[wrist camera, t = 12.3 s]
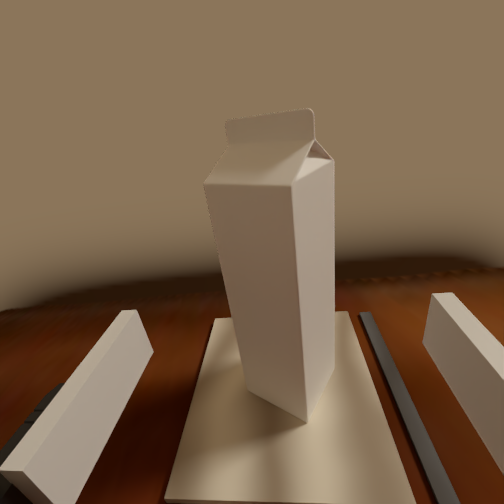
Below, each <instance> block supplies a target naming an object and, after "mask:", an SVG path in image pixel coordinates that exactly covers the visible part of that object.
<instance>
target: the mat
mask: <svg viewBox="0 0 504 504" xmlns="http://www.w3.org/2000/svg"><path fill="white" fill-rule="evenodd" d="M359 315H360V317H361V319H362V322H363V324H364V327H365V329H366V332H367V334H368V336H369V339H370V341H371V344H372V346H373V349H374V351H375V353H376V356H377V358H378V361H379V363H380V366H381V368H382V370H383V373H384V375H385V378H386V380H387V383H388V385H389V387H390V390H391V392H392V395H393V397H394V400H395V402H396V404H397V407H398V409H399V412H400V414H401V417H402V419H403V421H404V424H405V426H406V429H407V431H408V434H409V436H410V439H411V441H412V443H413V446H414V448H415V451H416V453H417V456H418V458H419V460H420V463H421V465H422V468H423V470H424V473H425V475H426V477H427V480H428V482H429V485H430V487H431V490H432V492H433V494H434V497H435V499H436V502H437V504H460V502H459V500H458V498H457V496H456V493H455V491H454V489H453V487H452V485H451V483H450V481H449V479H448V476H447V474H446V472H445V470H444V468H443V466H442V464H441V462H440V459H439V457H438V455H437V453H436V451H435V449H434V447H433V444H432V442H431V440H430V438H429V436H428V434H427V432H426V430H425V427H424V425H423V423H422V421H421V419H420V417H419V415H418V413H417V410H416V408H415V406H414V404H413V402H412V400H411V398H410V396H409V393H408V391H407V389H406V387H405V385H404V383H403V381H402V379H401V376H400V374H399V372H398V370H397V368H396V366H395V364H394V361H393V359H392V357H391V355H390V353H389V351H388V349H387V347H386V344H385V342H384V340H383V338H382V336H381V334H380V332H379V330H378V327H377V325H376V323H375V321H374V319H373V317H372V315H371V313H370V312H360V314H359ZM164 500H165V501H166V503H181V504H416V502H415V499H414V496H413V493H412V490H411V488H410V485H409V482H408V479H407V476H406V474H405V471H404V468H403V465H402V462H401V460H400V457H399V454H398V451H397V448H396V446H395V443H394V440H393V437H392V435H391V432H390V429H389V426H388V423H387V421H386V418H385V415H384V412H383V409H382V407H381V404H380V401H379V398H378V395H377V393H376V390H375V387H374V384H373V381H372V379H371V376H370V373H369V370H368V368H367V365H366V362H365V359H364V356H363V354H362V351H361V348H360V345H359V342H358V340H357V337H356V334H355V331H354V328H353V326H352V323H351V320H350V317H349V314H348V312H347V311H342V312H335V368H334V371H333V373H332V375H331V377H330V379H329V381H328V383H327V385H326V387H325V389H324V391H323V393H322V395H321V397H320V399H319V401H318V403H317V405H316V407H315V409H314V411H313V413H312V416H311V418H310V420H309V422H308V423H306V422H304V421H303V420H301V419H299V418H297V417H295V416H294V415H292V414H290V413H288V412H286V411H284V410H283V409H281V408H279V407H277V406H275V405H274V404H272V403H270V402H268V401H266V400H264V399H263V398H261V397H259V396H257V395H255V394H254V393H252V392H250V391H248V390H247V386H246V381H245V376H244V372H243V367H242V362H241V358H240V353H239V348H238V344H237V339H236V335H235V330H234V325H233V321H232V318H219V319H215V322H214V325H213V329H212V332H211V336H210V339H209V343H208V346H207V350H206V353H205V357H204V360H203V364H202V367H201V371H200V374H199V378H198V381H197V385H196V388H195V392H194V395H193V399H192V402H191V406H190V409H189V413H188V416H187V420H186V423H185V427H184V430H183V434H182V437H181V441H180V444H179V448H178V451H177V455H176V459H175V462H174V466H173V469H172V473H171V476H170V480H169V483H168V487H167V490H166V494H165V497H164Z"/></svg>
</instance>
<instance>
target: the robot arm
mask: <svg viewBox="0 0 504 504" xmlns="http://www.w3.org/2000/svg"><path fill="white" fill-rule="evenodd" d="M423 345H424V346H425V348H426V349H427V351H428V353H429V354H430V356H431V358H432V359H433V361H434V362H435V364H436V366H437V367H438V369H439V371H440V372H441V374H442V376H443V377H444V379H445V380H446V382H447V384H448V385H449V387H450V389H451V390H452V392H453V393H454V395H455V397H456V398H457V400H458V402H459V403H460V405H461V406H462V408H463V410H464V411H465V413H466V415H467V416H468V418H469V419H470V421H471V423H472V424H473V426H474V428H475V429H476V431H477V432H478V434H479V436H480V437H481V439H482V441H483V442H484V444H485V445H486V447H487V449H488V450H489V452H490V454H491V455H492V457H493V458H494V460H495V462H496V463H497V465H498V467H499V468H500V470H501V471H502V473H503V475H504V347H503V346H502V345H501V344H500V343H499V342H498V341H497V340H496V338H495V337H494V336H493V335H492V334H491V333H490V332H489V331H488V330H487V329H486V328H485V327H484V326H483V325H482V324H481V323H480V322H479V320H478V319H477V318H476V317H475V316H474V315H473V314H472V313H471V312H470V311H469V310H468V309H467V308H466V307H465V306H464V305H463V304H462V303H461V301H460V300H459V299H458V298H457V297H456V296H455V295H454V294H453V293H436V294H432V296H431V302H430V307H429V312H428V317H427V322H426V327H425V333H424V338H423ZM152 353H153V349H152V347H151V344H150V342H149V339H148V337H147V334H146V332H145V330H144V327H143V325H142V322H141V320H140V317H139V315H138V312H137V310H125V311H121V312H120V314H119V315H118V316H117V317H116V319H115V320H114V321H113V323H112V324H111V325H110V326H109V328H108V329H107V330H106V332H105V333H104V334H103V335H102V337H101V338H100V339H99V341H98V342H97V343H96V344H95V346H94V347H93V348H92V350H91V351H90V352H89V353H88V355H87V356H86V357H85V359H84V360H83V361H82V362H81V364H80V365H79V366H78V368H77V369H76V370H75V371H74V373H73V374H72V375H71V377H70V378H69V379H68V380H67V382H66V383H60V384H59V385H57V386H56V387H55V388H54V389H53V390H51V391H50V392H49V393H48V394H47V395H45V397H44V398H43V399H42V400H41V401H40V403H39V404H38V405H37V406H36V408H35V409H34V412H32V413H31V414H30V415H29V416H28V417H27V419H26V420H25V421H24V424H22V425H21V426H20V427H19V428H18V430H17V431H16V432H15V433H14V435H13V436H12V437H11V438H10V440H9V441H8V442H7V443H6V444H5V446H4V447H3V448H2V449H1V451H0V504H75V503H76V501H77V499H78V497H79V495H80V493H81V491H82V489H83V487H84V485H85V483H86V481H87V479H88V477H89V475H90V474H91V472H92V470H93V468H94V466H95V464H96V462H97V460H98V458H99V456H100V454H101V452H102V450H103V448H104V446H105V444H106V443H107V441H108V439H109V437H110V435H111V433H112V431H113V429H114V427H115V425H116V423H117V421H118V419H119V417H120V415H121V413H122V412H123V410H124V408H125V406H126V404H127V402H128V400H129V398H130V396H131V394H132V392H133V390H134V388H135V386H136V384H137V382H138V381H139V379H140V377H141V375H142V373H143V371H144V369H145V367H146V365H147V363H148V361H149V359H150V357H151V355H152Z"/></svg>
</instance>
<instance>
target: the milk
mask: <svg viewBox="0 0 504 504" xmlns="http://www.w3.org/2000/svg"><path fill="white" fill-rule="evenodd" d="M225 128H226V135H227V142H228V147H227V148H226V150H225V151H224V153H223V154H222V156H221V158H220V159H219V160H218V162H217V163H216V165H215V166H214V168H213V169H212V171H211V172H210V174H209V176H208V177H207V178H206V180H205V181H204V190H205V194H206V199H207V204H208V209H209V213H210V218H211V223H212V227H213V232H214V237H215V241H216V246H217V251H218V255H219V260H220V265H221V269H222V274H223V278H224V283H225V288H226V293H227V297H228V302H229V307H230V311H231V316H232V321H233V325H234V330H235V335H236V339H237V344H238V348H239V353H240V358H241V362H242V367H243V372H244V376H245V381H246V386H247V390H248V391H250V392H252V393H254V394H255V395H257V396H259V397H261V398H263V399H264V400H266V401H268V402H270V403H272V404H274V405H275V406H277V407H279V408H281V409H283V410H284V411H286V412H288V413H290V414H292V415H294V416H295V417H297V418H299V419H301V420H303V421H304V422H306V423H308V422H309V420H310V418H311V416H312V413H313V411H314V409H315V407H316V405H317V403H318V401H319V399H320V397H321V395H322V393H323V391H324V389H325V387H326V385H327V383H328V381H329V379H330V377H331V375H332V373H333V371H334V368H335V270H334V269H335V266H334V265H335V260H334V257H335V256H334V253H335V252H334V251H335V248H334V247H335V246H334V244H335V242H334V241H335V240H334V231H335V230H334V228H335V226H334V160H333V158H332V157H331V156H330V155H329V154H328V153H327V152H326V151H325V150H324V148H323V147H322V146H321V145H320V144H319V143H318V142H317V141H316V139H315V121H314V113H313V111H312V110H311V109H310V108H304V109H297V110H290V111H284V112H277V113H270V114H263V115H256V116H249V117H243V118H235V119H229V120H227V121H226V123H225Z"/></svg>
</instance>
